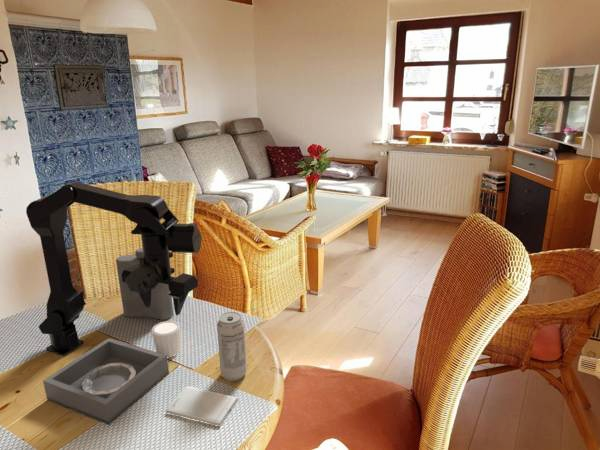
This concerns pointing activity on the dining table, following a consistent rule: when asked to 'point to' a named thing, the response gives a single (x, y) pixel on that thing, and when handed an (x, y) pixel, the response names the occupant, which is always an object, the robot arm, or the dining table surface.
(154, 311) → the flask
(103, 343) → the walled box
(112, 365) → the collar
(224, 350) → the energy drink can
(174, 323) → the white short cylinder
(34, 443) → the dining table surface
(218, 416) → the grey flat slab
